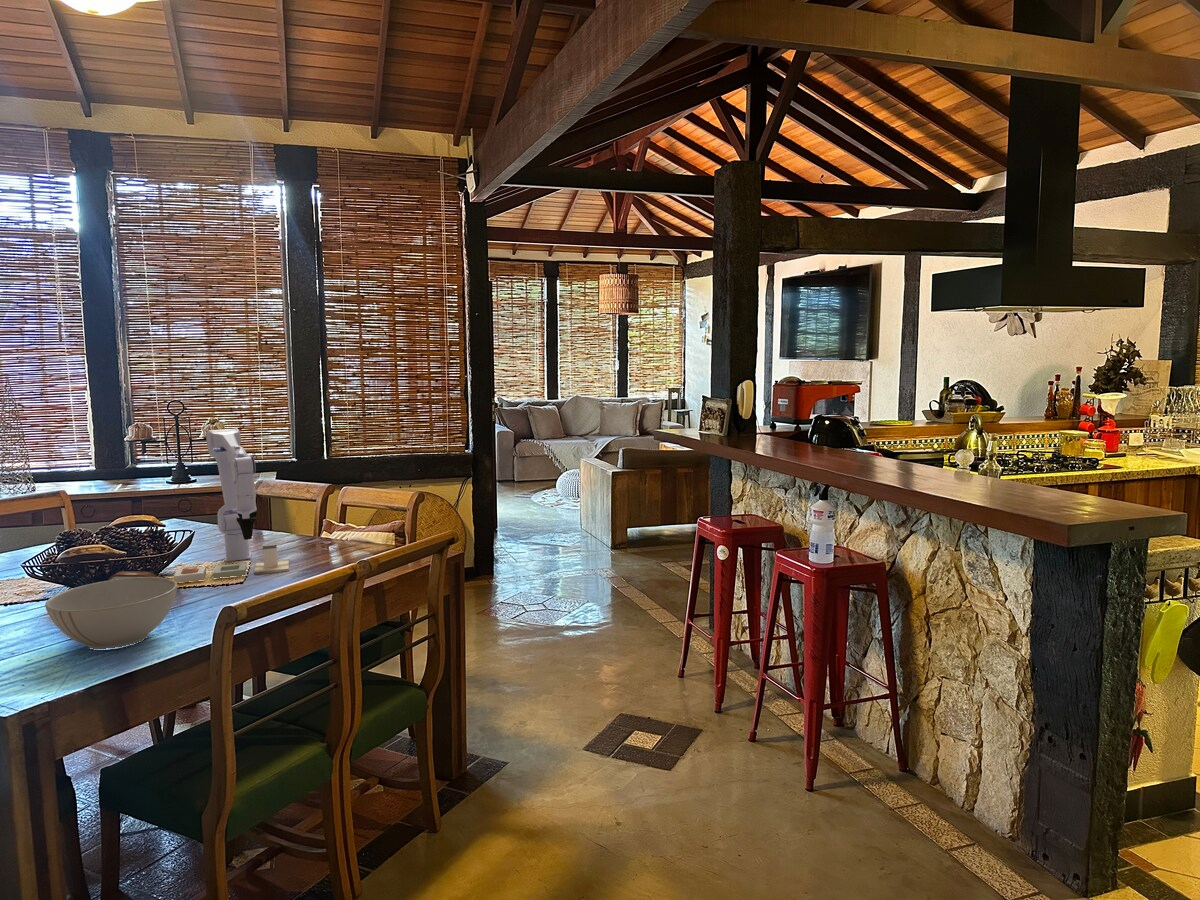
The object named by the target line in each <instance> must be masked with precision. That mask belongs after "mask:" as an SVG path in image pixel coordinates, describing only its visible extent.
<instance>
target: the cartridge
mask: <svg viewBox="0 0 1200 900" xmlns="http://www.w3.org/2000/svg"><path fill="white" fill-rule="evenodd" d="M277 544H278V543H277V542H267V543H262V554H263V555H262V556H263V562H264V568H269V567H278V561H279V559H278V546H277Z"/></svg>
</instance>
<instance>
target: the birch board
mask: <svg viewBox="0 0 1200 900" xmlns="http://www.w3.org/2000/svg"><path fill="white" fill-rule="evenodd" d="M253 571H254V572H253V574H254V576H256V575H264V574H272V573H273V574H274V573H280V572H282V571H283V572H290V560H289V559H281V560H279V559H278V567H269V568H264V561H263V562H262V561H261V562H255V565H254V570H253ZM283 572H282V573H283Z"/></svg>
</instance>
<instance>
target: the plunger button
mask: <svg viewBox="0 0 1200 900" xmlns="http://www.w3.org/2000/svg"><path fill="white" fill-rule="evenodd" d="M197 568H198V567H197V566H186V567H183V568H181V569H182V570H183V574H187V573H196V572H197Z"/></svg>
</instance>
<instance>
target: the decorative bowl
mask: <svg viewBox="0 0 1200 900" xmlns="http://www.w3.org/2000/svg"><path fill="white" fill-rule="evenodd" d="M177 592H178V584H177V583H176V582H175V581H174V579H171V578H165V577H159V576H157V577H136V578H124V579H116V580H109V581H108V580H104V581H98V582H93V583H89V584H85V585H84V584H83V585H79V586H76V587H74V588H70V589H67V590H64V591H61V592H59V593H57V594H55V595H53V596H51V597H50V598H49V599H47V601H45V604H44V607H45V609H46V612H47V614H48V617H49V618H50V619H51V621H52V622H53V623H54V624H55V626H56V627H57V628H58V629H59V630H60V631H61V632H62V633H63V634H64V635H66V637H68V638H70V639H72V640H73V641H76V642H78V643H82V644H84V645H87V648H88V647H89V648H93V649H106V648H115V647H122V646H126V645H130V644H134V643H137V642H139V641H142V640H143V639H145V638H146V637H147V636H148V637H149V634H150V633H151V632H153V631H154V630H155V629H156V628H158V627H159V625H160V624H161V623H162V622H163V621H164V619H166V617H167V615H168V614H169V612H170V611H171V608H172V606H173V603H174V602H175V599H176V596H177ZM148 637H147V638H148ZM89 648H88V649H89Z"/></svg>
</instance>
